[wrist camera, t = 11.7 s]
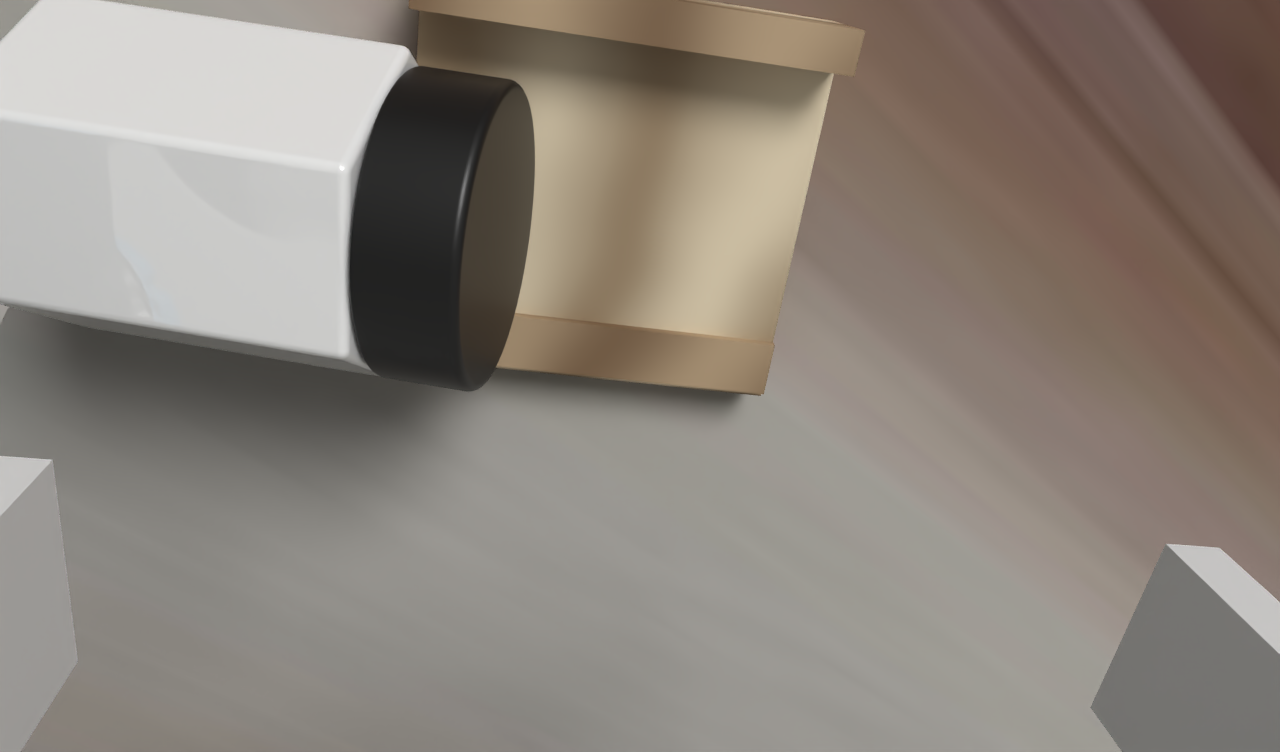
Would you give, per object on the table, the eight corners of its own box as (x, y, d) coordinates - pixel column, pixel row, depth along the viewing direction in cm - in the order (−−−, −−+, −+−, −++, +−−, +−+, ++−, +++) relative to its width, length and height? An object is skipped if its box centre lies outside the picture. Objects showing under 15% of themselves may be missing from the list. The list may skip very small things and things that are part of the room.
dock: (408, 339, 32) (391, 384, 28) (428, -45, 27) (410, -42, 23) (752, 377, 33) (772, 423, 30) (831, 20, 28) (865, 30, 25)
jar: (163, 282, 30) (523, 340, 30) (-25, 381, 23) (448, 462, 22) (140, -12, 27) (548, 49, 26) (-94, -6, 19) (469, 79, 19)
